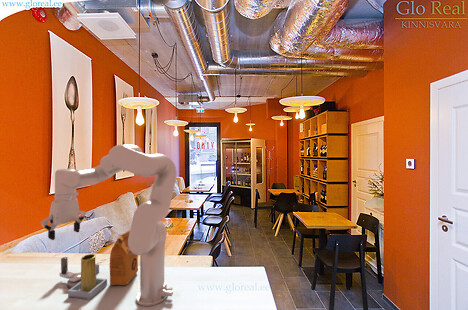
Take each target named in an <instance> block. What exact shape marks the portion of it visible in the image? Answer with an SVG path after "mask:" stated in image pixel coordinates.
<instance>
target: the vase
mask: <svg viewBox="0 0 468 310" xmlns="http://www.w3.org/2000/svg"><path fill="white" fill-rule="evenodd" d="M80 261H81V263H80V273H81V287H80V291H86V292H90V291H91V290H92V289H93V288H95V287H96V286H97V284H96V278H97V274H96V266H95V264H96V255H95V254H93V253H91V254H85V255H83V256H82V257H81V258H80Z"/></svg>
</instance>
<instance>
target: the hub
mask: <svg viewBox="0 0 468 310" xmlns="http://www.w3.org/2000/svg"><path fill="white" fill-rule="evenodd" d="M79 282H81V281H79ZM79 282H75V283H71V282H69V279H68V280H67V283H66V284H67V286H66V288H67V289H68V290H70V289H71V288H72V287H74V286H75V285H77V284H78V283H79Z"/></svg>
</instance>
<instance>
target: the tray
mask: <svg viewBox="0 0 468 310" xmlns="http://www.w3.org/2000/svg"><path fill="white" fill-rule="evenodd" d="M96 284H97V286H96V287H95V288H93V289H92V290H91V291H90V292H86V291H80V287H81V282H79V283H78V284H77V285H75V286H74V287H72V288H71V289H68V290H67V297H68V298H72V299H78V300H87V301H90V300H91V299H93V298H94V297H95V296H96V295H97V294H98V293H100V292H101V291H102V290H104V288H106V286H107V285H108V278H101V277H96Z"/></svg>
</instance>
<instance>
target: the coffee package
mask: <svg viewBox="0 0 468 310" xmlns="http://www.w3.org/2000/svg"><path fill="white" fill-rule="evenodd" d="M129 233H130V229H129V230H128V231H126V232H124V233H121V235H120V236H119V237H118V238H117V239H116V241H115V243H114V245H113V246H112V247H111V250H110V256H109V285H110V286H115V285H116V286H117V285H118V286H126V285H129V283H130V281H132V279H133V278H134V277H135V276H136V274H137V273H138V271H139V263H138V262H139V261H138V260H139V259H138V257H139V255H135V254H133V253H132V252H131V251H130V249H129V246H128V238H129Z"/></svg>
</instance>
